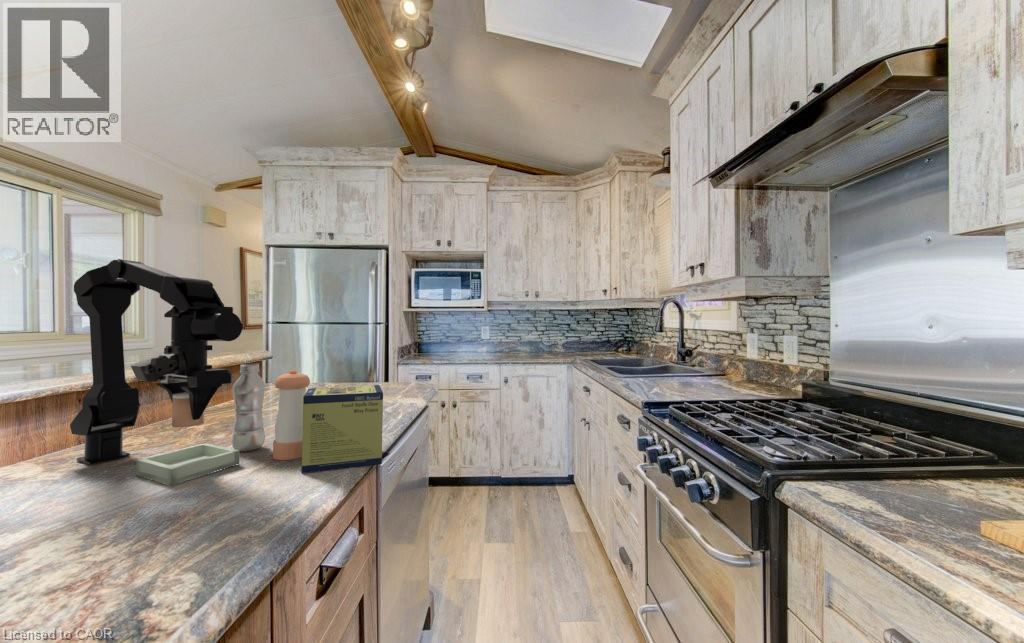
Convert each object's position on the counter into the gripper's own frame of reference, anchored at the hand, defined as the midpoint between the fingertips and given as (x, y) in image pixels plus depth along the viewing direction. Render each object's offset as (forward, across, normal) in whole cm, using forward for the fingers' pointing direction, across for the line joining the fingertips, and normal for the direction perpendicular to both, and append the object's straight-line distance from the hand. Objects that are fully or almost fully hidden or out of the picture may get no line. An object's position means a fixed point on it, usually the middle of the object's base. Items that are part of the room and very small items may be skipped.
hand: (188, 418), depth 79 cm
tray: (+10, 0, 0) cm, 11 cm away
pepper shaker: (+11, +10, +16) cm, 21 cm away
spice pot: (+1, 0, 0) cm, 1 cm away
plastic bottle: (+11, -2, +13) cm, 17 cm away
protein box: (+11, +24, +18) cm, 31 cm away
